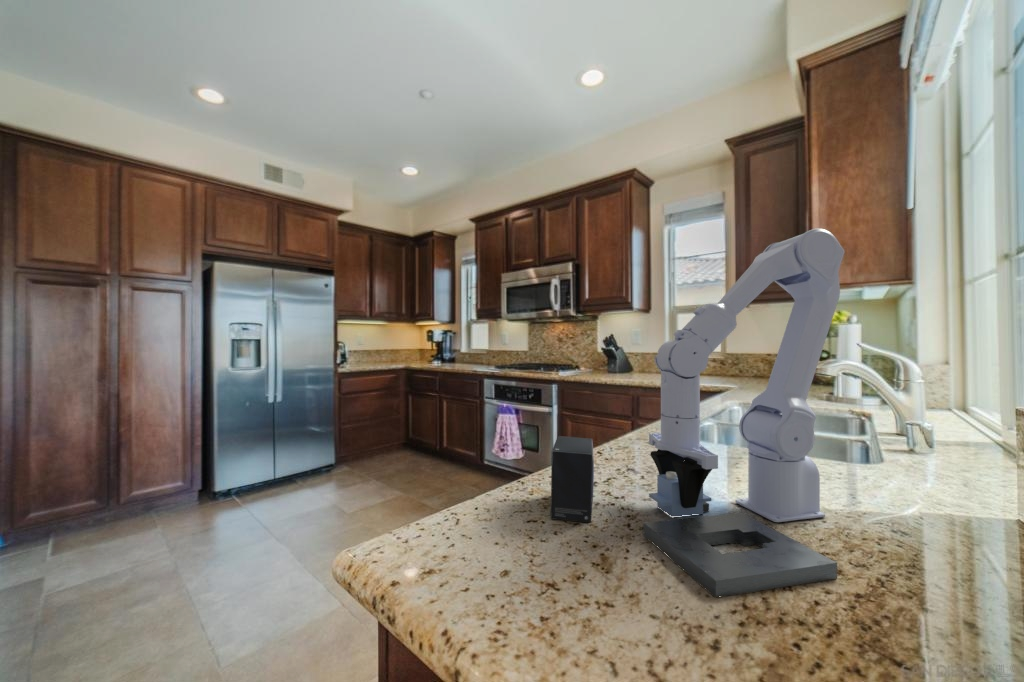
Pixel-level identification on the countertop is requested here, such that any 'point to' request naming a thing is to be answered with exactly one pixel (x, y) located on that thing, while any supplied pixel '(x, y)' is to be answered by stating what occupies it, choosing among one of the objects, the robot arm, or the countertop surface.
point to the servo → (676, 497)
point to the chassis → (738, 554)
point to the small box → (572, 479)
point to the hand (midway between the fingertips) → (679, 501)
